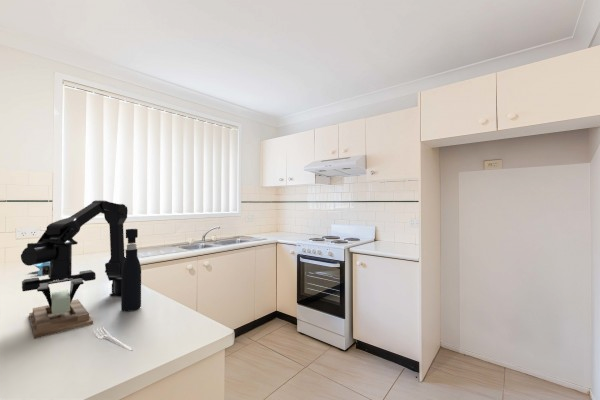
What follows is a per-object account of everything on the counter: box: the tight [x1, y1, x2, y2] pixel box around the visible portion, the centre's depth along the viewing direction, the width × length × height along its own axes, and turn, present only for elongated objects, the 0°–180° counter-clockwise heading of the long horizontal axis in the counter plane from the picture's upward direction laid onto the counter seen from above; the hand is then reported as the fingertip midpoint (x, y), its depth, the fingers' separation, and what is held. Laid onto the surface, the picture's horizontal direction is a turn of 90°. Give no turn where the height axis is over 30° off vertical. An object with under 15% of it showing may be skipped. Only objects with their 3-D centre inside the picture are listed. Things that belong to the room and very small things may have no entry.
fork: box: [93, 325, 134, 352], centre depth 79 cm, size 3×20×2 cm, turn 58°
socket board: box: [28, 299, 94, 339], centre depth 94 cm, size 25×14×3 cm, turn 47°
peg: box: [50, 289, 70, 315], centre depth 95 cm, size 12×4×4 cm, turn 43°
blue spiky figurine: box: [33, 262, 50, 276], centre depth 163 cm, size 18×10×9 cm, turn 43°
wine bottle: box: [120, 228, 142, 313], centre depth 105 cm, size 6×6×30 cm
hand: (60, 304), depth 95 cm, fingers closed on peg, 5 cm apart
